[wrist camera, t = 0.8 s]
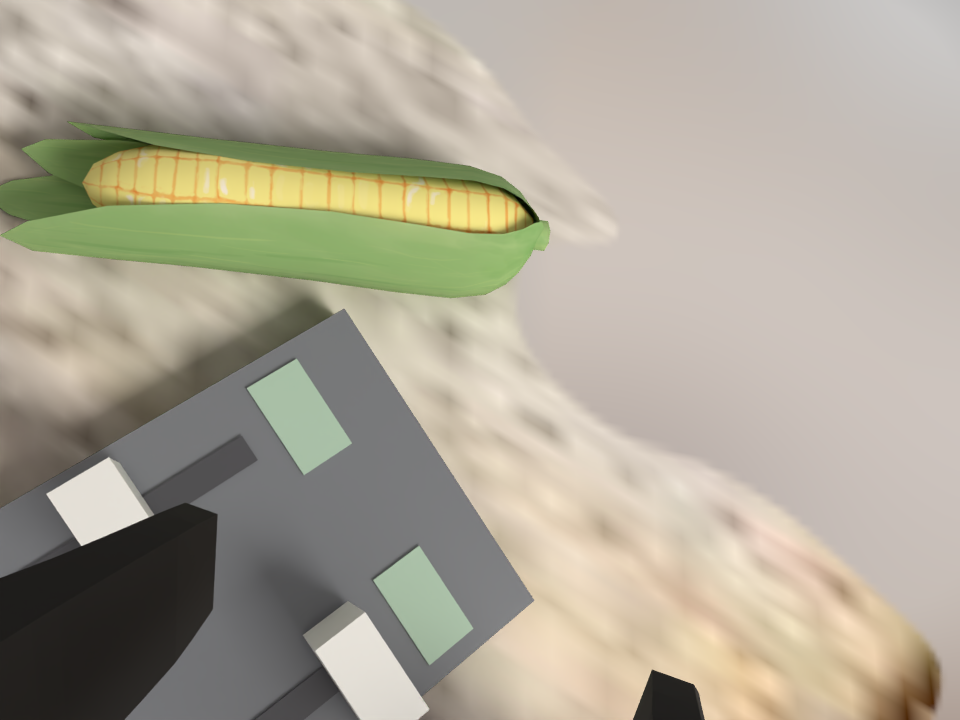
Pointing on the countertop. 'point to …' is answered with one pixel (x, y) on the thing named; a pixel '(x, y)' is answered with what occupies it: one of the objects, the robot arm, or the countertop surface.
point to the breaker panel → (301, 531)
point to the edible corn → (275, 212)
